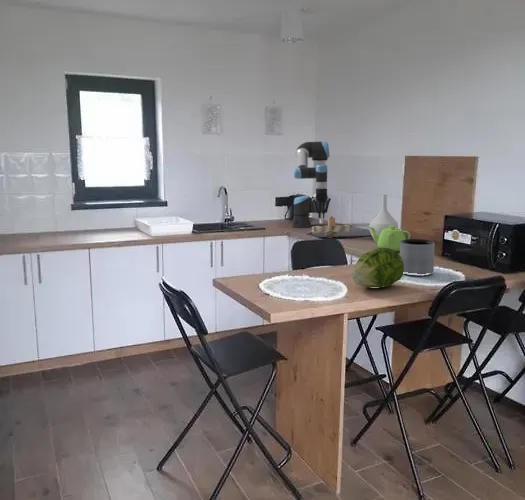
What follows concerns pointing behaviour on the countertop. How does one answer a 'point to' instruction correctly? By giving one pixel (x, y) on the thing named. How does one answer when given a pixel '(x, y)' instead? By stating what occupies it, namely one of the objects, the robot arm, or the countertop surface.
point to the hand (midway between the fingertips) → (321, 223)
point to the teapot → (390, 237)
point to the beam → (331, 230)
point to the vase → (382, 219)
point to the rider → (331, 222)
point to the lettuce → (378, 268)
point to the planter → (417, 255)
